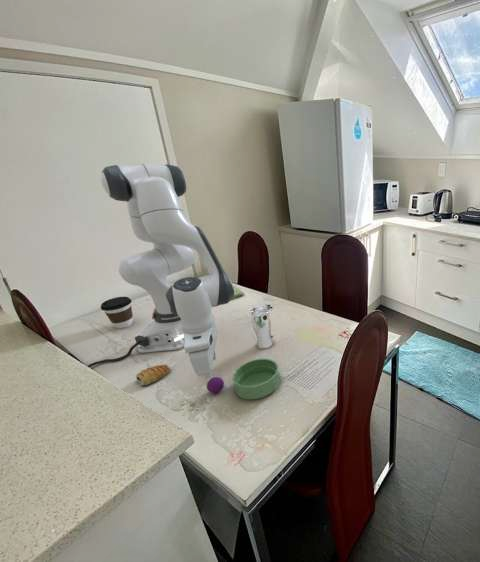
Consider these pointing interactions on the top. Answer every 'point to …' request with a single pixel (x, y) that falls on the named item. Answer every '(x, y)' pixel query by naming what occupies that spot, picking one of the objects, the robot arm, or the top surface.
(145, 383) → the pastry
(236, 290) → the washcloth
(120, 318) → the coffee cup
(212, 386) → the ball
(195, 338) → the robot arm
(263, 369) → the bowl
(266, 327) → the beer glass
